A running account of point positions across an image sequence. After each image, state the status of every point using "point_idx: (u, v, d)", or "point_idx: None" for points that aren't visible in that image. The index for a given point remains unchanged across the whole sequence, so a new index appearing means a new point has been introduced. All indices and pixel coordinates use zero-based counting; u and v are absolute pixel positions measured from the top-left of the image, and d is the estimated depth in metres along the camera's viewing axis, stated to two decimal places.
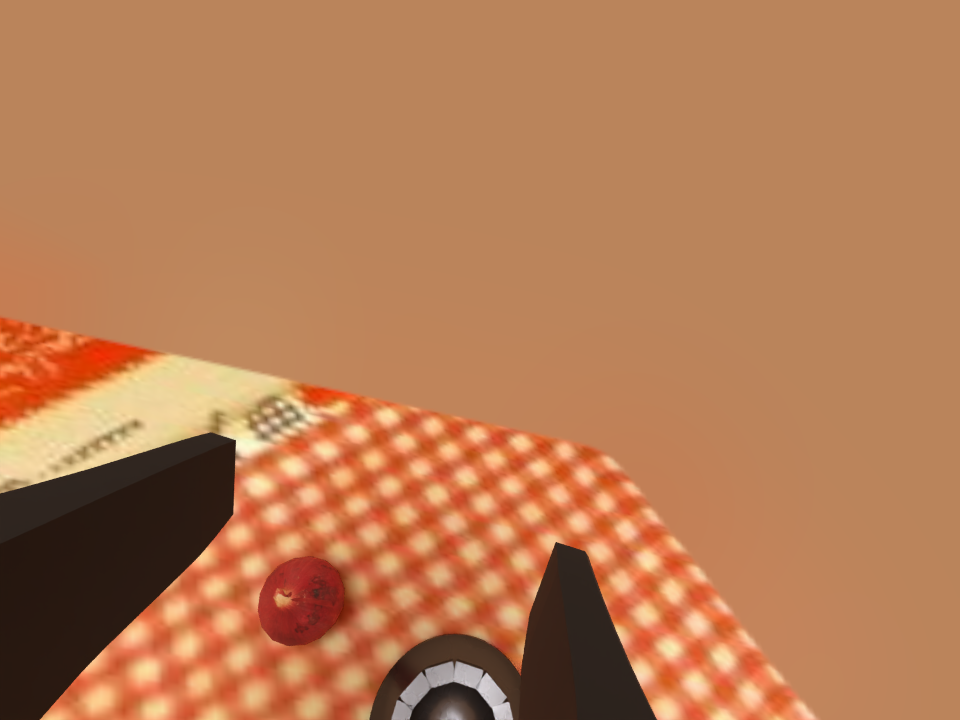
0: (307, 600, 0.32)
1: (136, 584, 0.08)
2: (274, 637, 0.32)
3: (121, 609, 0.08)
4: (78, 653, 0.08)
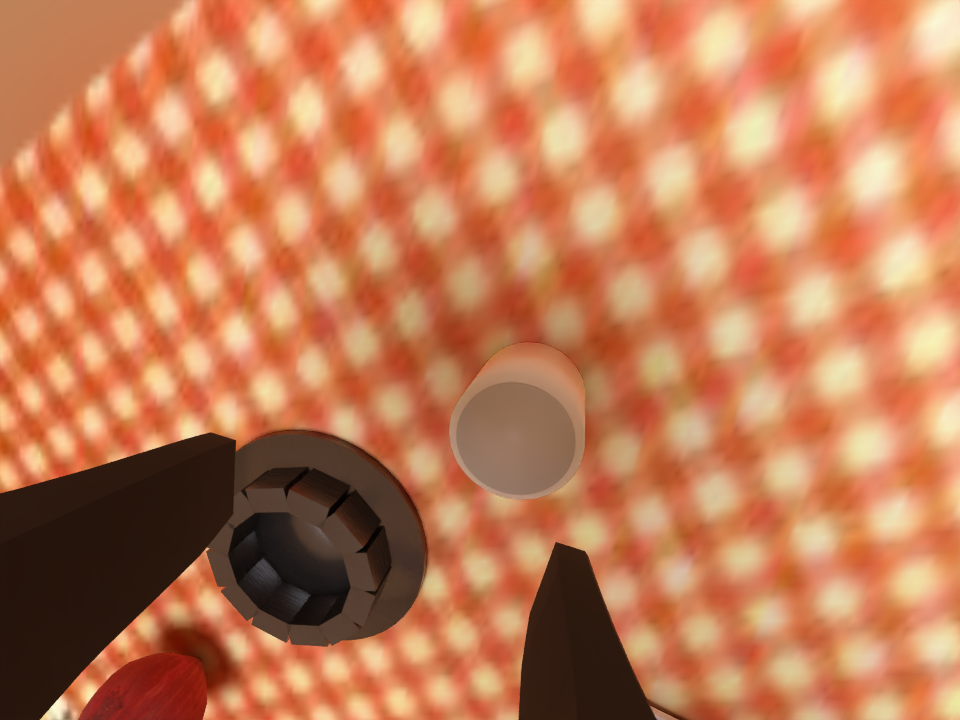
0: None
1: (136, 584, 0.08)
2: None
3: (121, 609, 0.08)
4: (78, 653, 0.08)
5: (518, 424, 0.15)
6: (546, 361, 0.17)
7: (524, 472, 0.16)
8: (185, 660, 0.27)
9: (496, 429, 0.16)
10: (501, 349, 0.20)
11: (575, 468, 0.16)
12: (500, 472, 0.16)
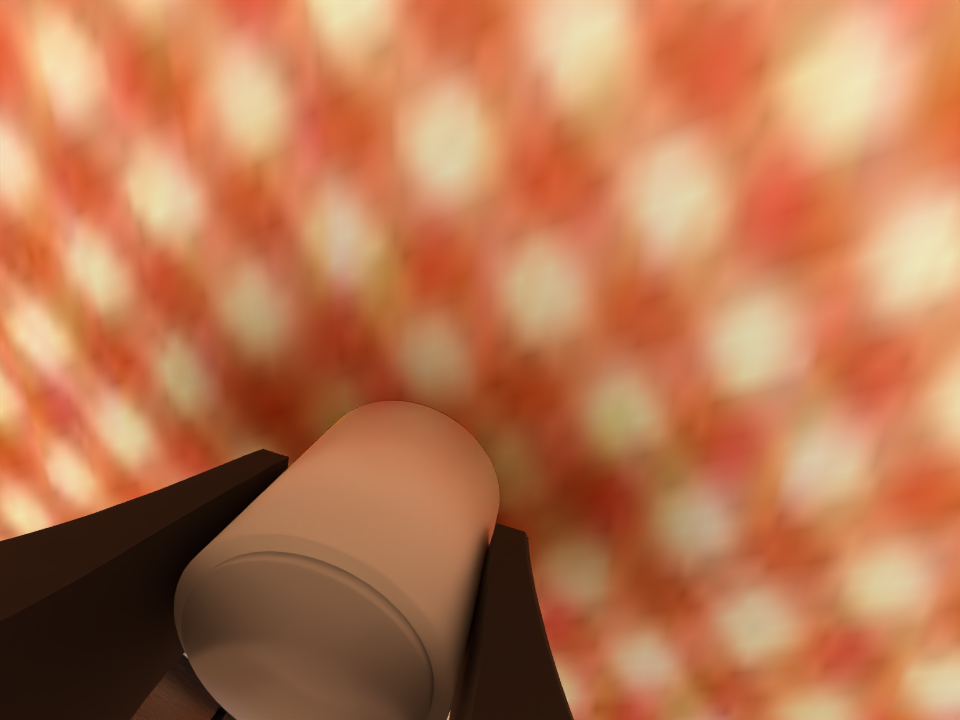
0: None
1: None
2: None
3: None
4: (145, 678, 0.07)
5: (297, 639, 0.07)
6: (381, 457, 0.08)
7: None
8: None
9: (258, 649, 0.07)
10: (339, 419, 0.11)
11: (444, 711, 0.07)
12: None
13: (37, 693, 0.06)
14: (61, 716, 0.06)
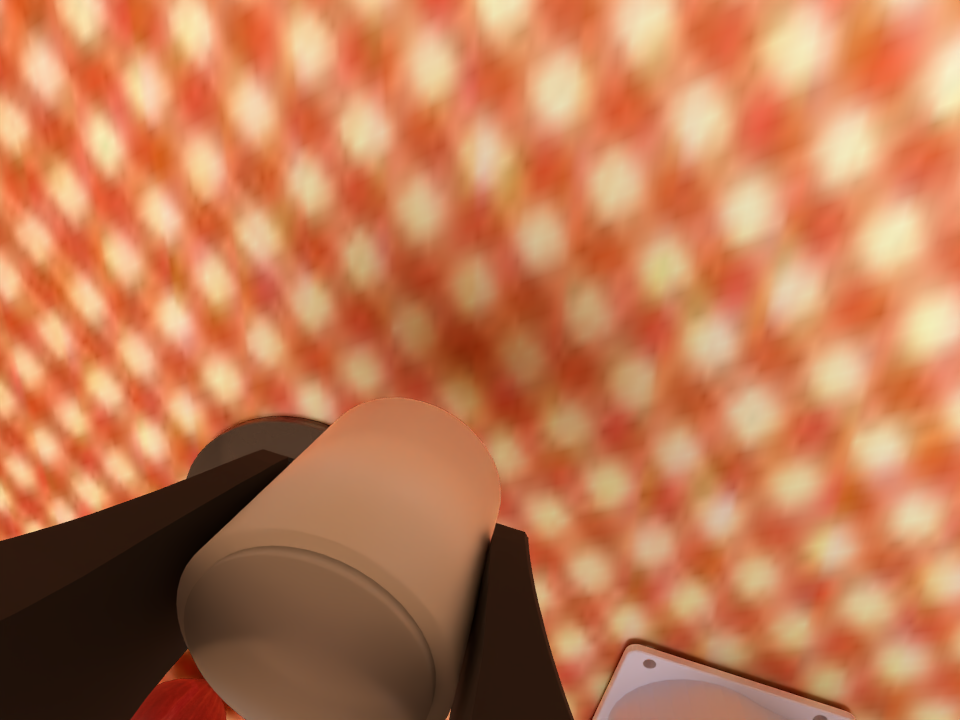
0: None
1: None
2: None
3: None
4: (145, 679, 0.07)
5: (300, 633, 0.07)
6: (384, 453, 0.08)
7: (341, 719, 0.07)
8: (196, 684, 0.25)
9: (261, 643, 0.07)
10: None
11: (446, 706, 0.07)
12: (296, 718, 0.07)
13: (37, 693, 0.06)
14: (61, 716, 0.06)
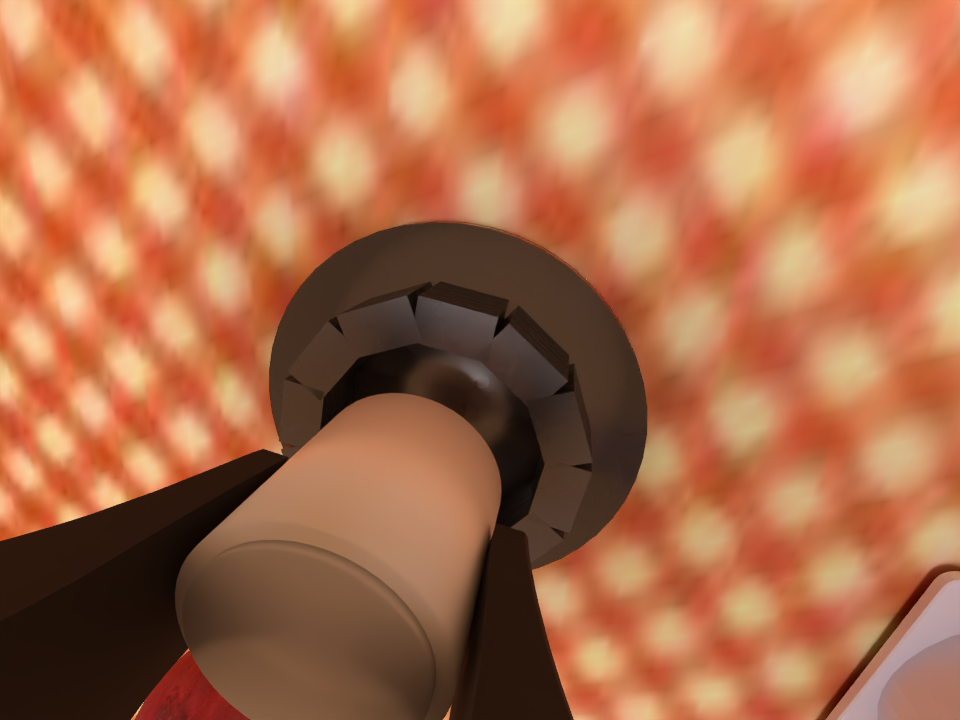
0: None
1: None
2: None
3: None
4: (145, 678, 0.07)
5: (301, 629, 0.07)
6: (390, 449, 0.08)
7: (338, 715, 0.07)
8: None
9: (260, 637, 0.07)
10: None
11: (444, 706, 0.07)
12: (292, 713, 0.07)
13: (37, 693, 0.06)
14: (61, 716, 0.06)
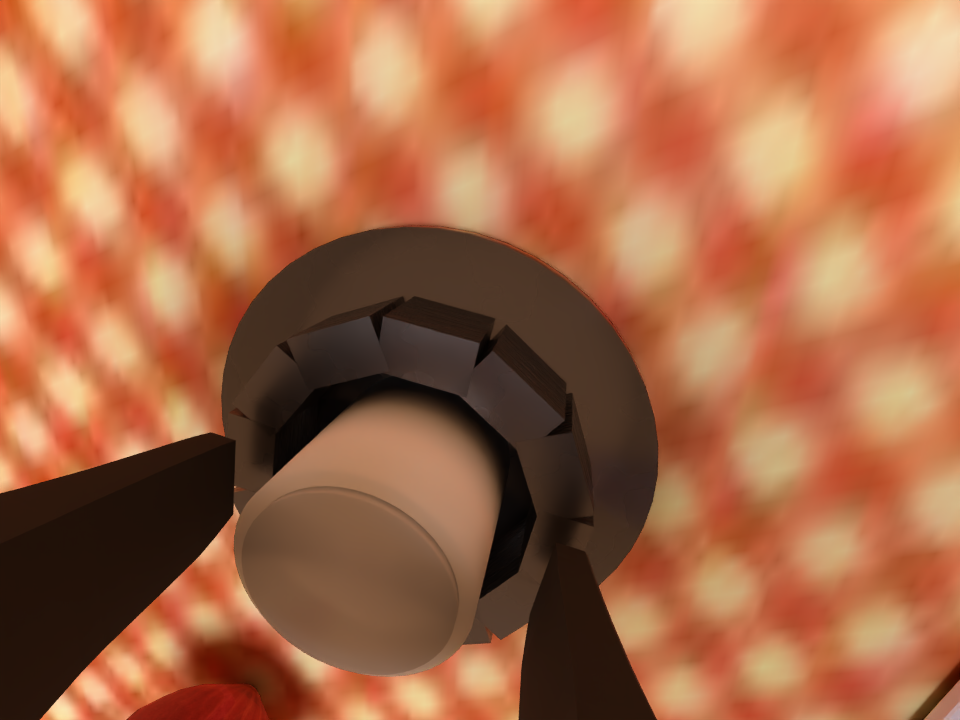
0: None
1: (136, 584, 0.08)
2: None
3: (121, 609, 0.08)
4: (78, 653, 0.08)
5: (345, 562, 0.08)
6: (414, 417, 0.10)
7: (374, 640, 0.08)
8: (229, 694, 0.16)
9: (309, 571, 0.08)
10: None
11: (465, 630, 0.08)
12: (334, 640, 0.09)
13: None
14: None
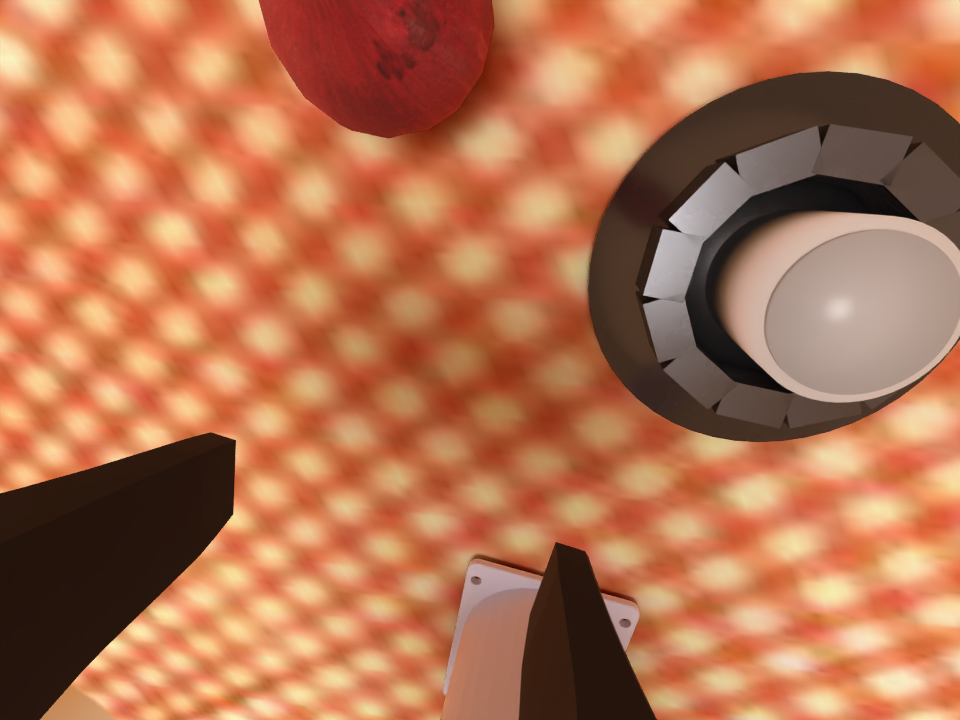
0: None
1: (136, 584, 0.08)
2: (337, 108, 0.12)
3: (121, 609, 0.08)
4: (78, 653, 0.08)
5: (890, 320, 0.11)
6: None
7: (807, 335, 0.11)
8: None
9: (881, 290, 0.11)
10: None
11: (809, 395, 0.12)
12: (804, 304, 0.11)
13: None
14: None
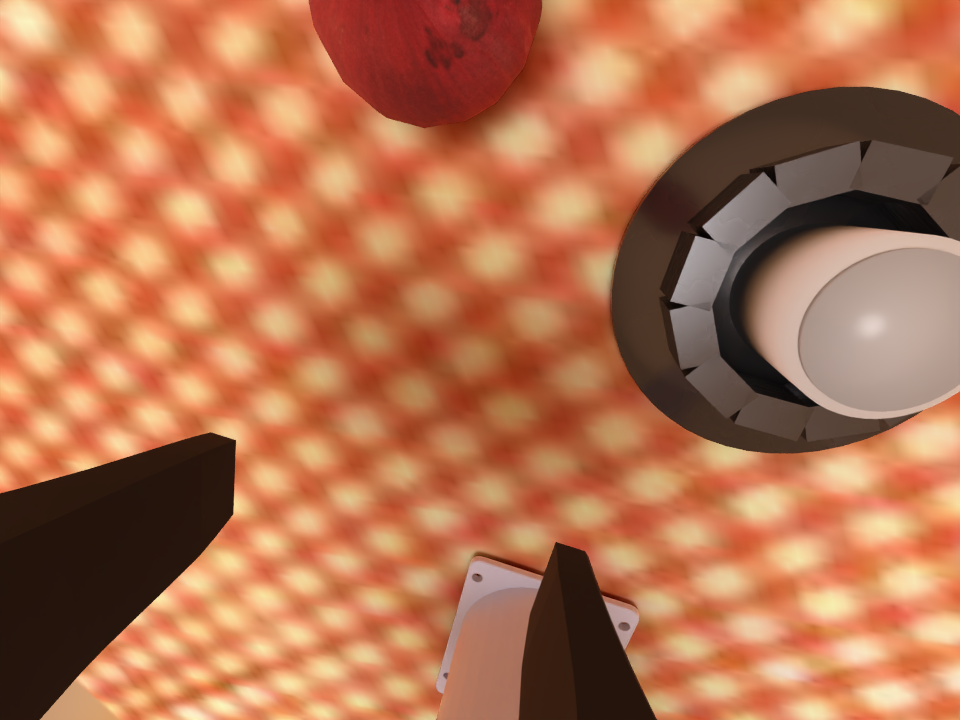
0: None
1: (136, 584, 0.08)
2: (378, 94, 0.12)
3: (121, 609, 0.08)
4: (78, 653, 0.08)
5: (925, 339, 0.11)
6: None
7: (840, 350, 0.11)
8: None
9: (919, 309, 0.11)
10: None
11: (837, 410, 0.12)
12: (841, 318, 0.11)
13: None
14: None
